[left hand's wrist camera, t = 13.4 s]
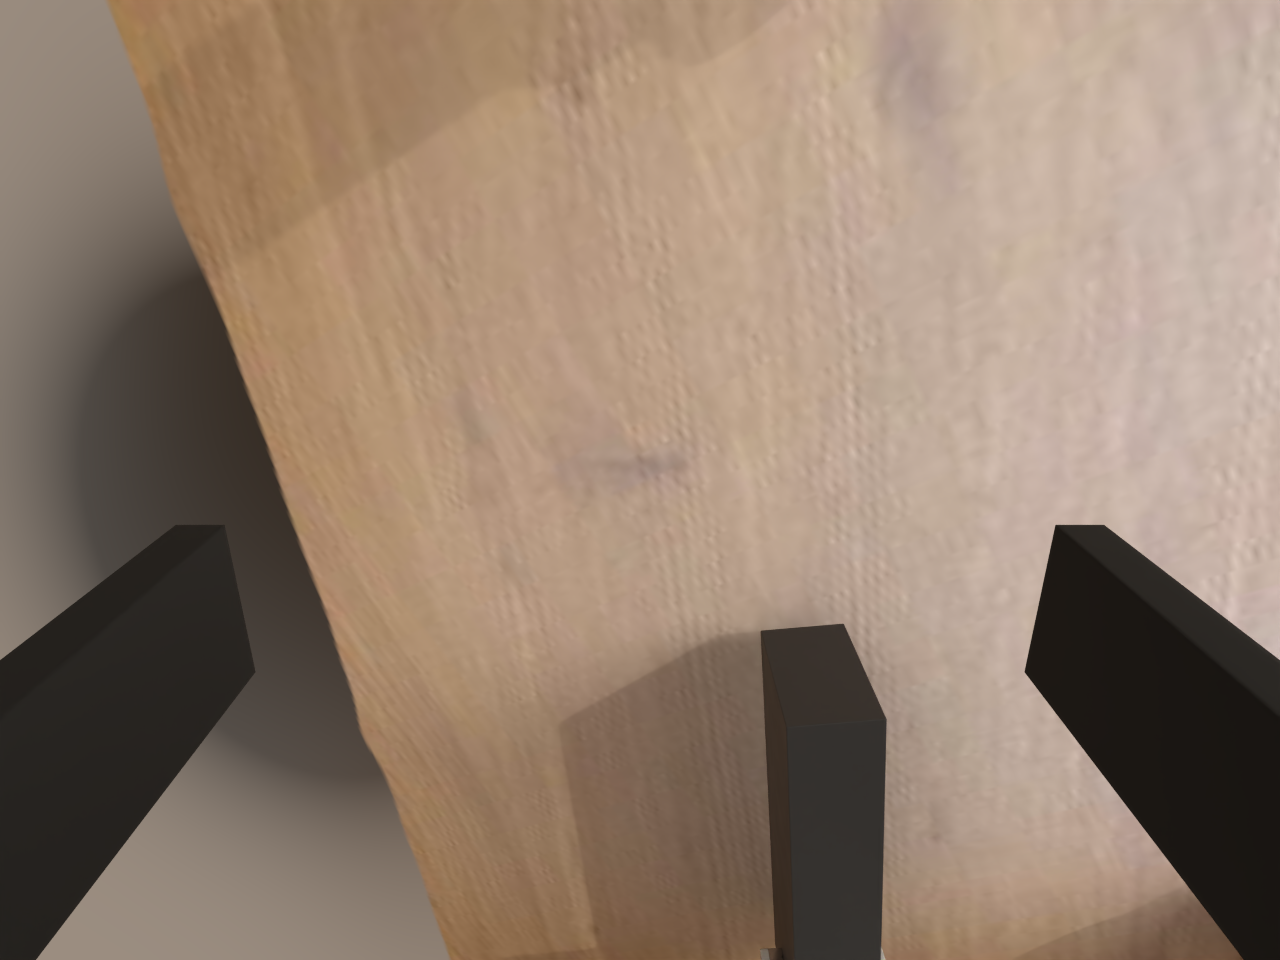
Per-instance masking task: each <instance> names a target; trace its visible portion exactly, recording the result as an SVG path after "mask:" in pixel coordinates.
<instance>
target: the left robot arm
mask: <svg viewBox="0 0 1280 960" xmlns="http://www.w3.org/2000/svg"><path fill="white" fill-rule="evenodd" d="M254 673H255V668H254V663H253V658H252V653H251V649H250V644H249V639H248V635H247V630H246V625H245V620H244V616H243V611H242V606H241V602H240V597H239V592H238V587H237V583H236V578H235V573H234V568H233V563H232V559H231V554H230V549H229V544H228V540H227V535H226V530H225V526H224V525H175V526H174V527H173V528H171V529H170V530H169V531H167V532H166V533H165V534H164V535H162V536H161V537H160V538H158V539H157V540H156V541H155V542H153V543H152V544H151V545H149V546H148V547H147V548H145V549H144V550H143V551H142V552H140V553H139V554H138V555H136V556H135V557H134V558H133V559H131V560H130V561H129V562H127V563H126V564H125V565H123V566H122V567H121V568H119V569H118V570H117V571H116V572H114V573H113V574H112V575H110V576H109V577H108V578H106V579H105V580H104V581H103V582H101V583H100V584H99V585H97V586H96V587H95V588H93V589H92V590H91V591H90V592H88V593H87V594H86V595H84V596H83V597H82V598H80V599H79V600H78V601H77V602H75V603H74V604H73V605H71V606H70V607H69V608H67V609H66V610H65V611H64V612H62V613H61V614H60V615H58V616H57V617H56V618H54V619H53V620H52V621H51V622H49V623H48V624H47V625H45V626H44V627H43V628H41V629H40V630H39V631H38V632H36V633H35V634H34V635H32V636H31V637H30V638H28V639H27V640H26V641H25V642H23V643H22V644H21V645H19V646H18V647H17V648H16V649H14V650H13V651H12V652H10V653H9V654H8V655H6V656H5V657H4V658H2V659H1V660H0V960H36V959H37V958H38V956H39V955H40V954H41V952H42V951H43V950H44V948H45V947H46V946H47V944H48V943H49V942H50V941H51V939H52V938H53V937H54V935H55V934H56V933H57V931H58V930H59V929H60V928H61V926H62V925H63V924H64V922H65V921H66V920H67V918H68V917H69V916H70V914H71V913H72V912H73V910H74V909H75V908H76V907H77V905H78V904H79V903H80V901H81V900H82V899H83V897H84V896H85V895H86V893H87V892H88V891H89V889H90V888H91V887H92V886H93V884H94V883H95V882H96V880H97V879H98V878H99V876H100V875H101V874H102V872H103V871H104V870H105V868H106V867H107V866H108V865H109V863H110V862H111V861H112V859H113V858H114V857H115V855H116V854H117V853H118V851H119V850H120V849H121V847H122V846H123V845H124V844H125V842H126V841H127V840H128V838H129V837H130V836H131V834H132V833H133V832H134V831H135V829H136V828H137V826H138V825H139V824H140V823H141V821H142V820H143V819H144V817H145V816H146V815H147V813H148V812H149V811H150V810H151V808H152V807H153V806H154V804H155V803H156V802H157V800H158V799H159V798H160V796H161V795H162V794H163V792H164V791H165V790H166V788H167V787H168V786H169V785H170V783H171V782H172V781H173V779H174V778H175V777H176V775H177V774H178V773H179V772H180V770H181V769H182V767H183V766H184V765H185V764H186V762H187V761H188V760H189V758H190V757H191V756H192V754H193V753H194V752H195V751H196V749H197V748H198V747H199V745H200V744H201V743H202V741H203V740H204V739H205V737H206V736H207V735H208V734H209V732H210V731H211V730H212V728H213V727H214V726H215V724H216V723H217V722H218V720H219V719H220V718H221V716H222V715H223V714H224V713H225V711H226V710H227V709H228V707H229V706H230V705H231V703H232V702H233V701H234V699H235V698H236V697H237V695H238V694H239V693H240V692H241V690H242V689H243V688H244V686H245V685H246V684H247V682H248V681H249V680H250V678H251V677H252V676H253V675H254ZM1025 673H1026V675H1027V676H1028V677H1029V678H1030V680H1031V681H1032V682H1033V684H1034V685H1035V686H1036V688H1037V689H1038V690H1039V692H1040V693H1041V694H1042V695H1043V697H1044V698H1045V699H1046V701H1047V702H1048V703H1049V705H1050V706H1051V707H1052V709H1053V710H1054V711H1055V713H1056V714H1057V715H1058V716H1059V718H1060V719H1061V720H1062V722H1063V723H1064V724H1065V726H1066V727H1067V728H1068V730H1069V731H1070V732H1071V734H1072V735H1073V736H1074V737H1075V739H1076V740H1077V741H1078V743H1079V744H1080V745H1081V747H1082V748H1083V749H1084V751H1085V752H1086V753H1087V754H1088V756H1089V757H1090V758H1091V760H1092V761H1093V762H1094V764H1095V765H1096V766H1097V768H1098V769H1099V770H1100V772H1101V773H1102V774H1103V775H1104V777H1105V778H1106V779H1107V781H1108V782H1109V783H1110V785H1111V786H1112V787H1113V789H1114V790H1115V791H1116V792H1117V794H1118V795H1119V796H1120V798H1121V799H1122V800H1123V802H1124V803H1125V804H1126V806H1127V807H1128V808H1129V810H1130V811H1131V812H1132V813H1133V815H1134V816H1135V817H1136V819H1137V820H1138V821H1139V823H1140V824H1141V825H1142V827H1143V828H1144V829H1145V831H1146V832H1147V833H1148V834H1149V836H1150V837H1151V838H1152V840H1153V841H1154V842H1155V844H1156V845H1157V846H1158V848H1159V849H1160V850H1161V851H1162V853H1163V854H1164V855H1165V857H1166V858H1167V859H1168V861H1169V862H1170V863H1171V865H1172V866H1173V867H1174V869H1175V870H1176V871H1177V872H1178V874H1179V875H1180V876H1181V878H1182V879H1183V880H1184V882H1185V883H1186V884H1187V886H1188V887H1189V888H1190V889H1191V891H1192V892H1193V893H1194V895H1195V896H1196V897H1197V899H1198V900H1199V901H1200V903H1201V904H1202V905H1203V907H1204V908H1205V909H1206V910H1207V912H1208V913H1209V914H1210V916H1211V917H1212V918H1213V920H1214V921H1215V922H1216V924H1217V925H1218V926H1219V928H1220V929H1221V930H1222V931H1223V933H1224V934H1225V935H1226V937H1227V938H1228V939H1229V941H1230V942H1231V943H1232V945H1233V946H1234V947H1235V948H1236V950H1237V951H1238V952H1239V954H1240V955H1241V956H1242V958H1243V959H1244V960H1280V660H1279V659H1278V658H1276V657H1275V656H1274V655H1272V654H1271V653H1270V652H1268V651H1267V650H1266V649H1265V648H1263V647H1262V646H1261V645H1259V644H1258V643H1257V642H1255V641H1254V640H1253V639H1252V638H1250V637H1249V636H1248V635H1246V634H1245V633H1244V632H1242V631H1241V630H1240V629H1239V628H1237V627H1236V626H1235V625H1233V624H1232V623H1231V622H1229V621H1228V620H1227V619H1226V618H1224V617H1223V616H1222V615H1220V614H1219V613H1218V612H1216V611H1215V610H1214V609H1213V608H1211V607H1210V606H1209V605H1207V604H1206V603H1205V602H1203V601H1202V600H1201V599H1200V598H1198V597H1197V596H1196V595H1194V594H1193V593H1192V592H1190V591H1189V590H1188V589H1187V588H1185V587H1184V586H1183V585H1181V584H1180V583H1179V582H1177V581H1176V580H1175V579H1174V578H1172V577H1171V576H1170V575H1168V574H1167V573H1166V572H1164V571H1163V570H1162V569H1161V568H1159V567H1158V566H1157V565H1155V564H1154V563H1153V562H1151V561H1150V560H1149V559H1148V558H1146V557H1145V556H1144V555H1142V554H1141V553H1140V552H1138V551H1137V550H1136V549H1135V548H1133V547H1132V546H1131V545H1129V544H1128V543H1127V542H1125V541H1124V540H1123V539H1122V538H1120V537H1119V536H1118V535H1116V534H1115V533H1114V532H1113V531H1111V530H1110V529H1109V528H1107V527H1106V526H1105V525H1055V530H1054V535H1053V540H1052V544H1051V549H1050V554H1049V559H1048V563H1047V568H1046V573H1045V578H1044V582H1043V587H1042V592H1041V597H1040V601H1039V606H1038V611H1037V616H1036V620H1035V625H1034V630H1033V634H1032V639H1031V644H1030V649H1029V653H1028V658H1027V663H1026V668H1025Z"/></svg>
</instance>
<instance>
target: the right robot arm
mask: <svg viewBox="0 0 1280 960" xmlns="http://www.w3.org/2000/svg"><path fill="white" fill-rule="evenodd" d="M760 958H761V960H784V959H783V951H782V948H767V949H760ZM881 960H885V957H884V954H883V950H882V947H881Z"/></svg>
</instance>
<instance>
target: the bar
mask: <svg viewBox="0 0 1280 960" xmlns="http://www.w3.org/2000/svg"><path fill="white" fill-rule="evenodd" d="M761 649H762V670H763V691H764V713H765V734H766V756H767V777H768V798H769V820H770V841H771V862H772V884H773V905H774V926H775V945H776V948H782V951H783V959H784V960H881V932H882V890H883V847H884V804H885V762H886V717H885V715H884V713H883V710H882V708H881V706H880V704H879V702H878V699H877V697H876V695H875V693H874V690H873V688H872V686H871V684H870V681H869V679H868V677H867V675H866V673H865V670H864V668H863V666H862V664H861V661H860V659H859V657H858V655H857V653H856V650H855V648H854V646H853V644H852V641H851V639H850V637H849V635H848V632H847V630H846V628H845V626H844V624H835V625H823V626H812V627H800V628H788V629H776V630H765V631H761Z"/></svg>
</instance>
